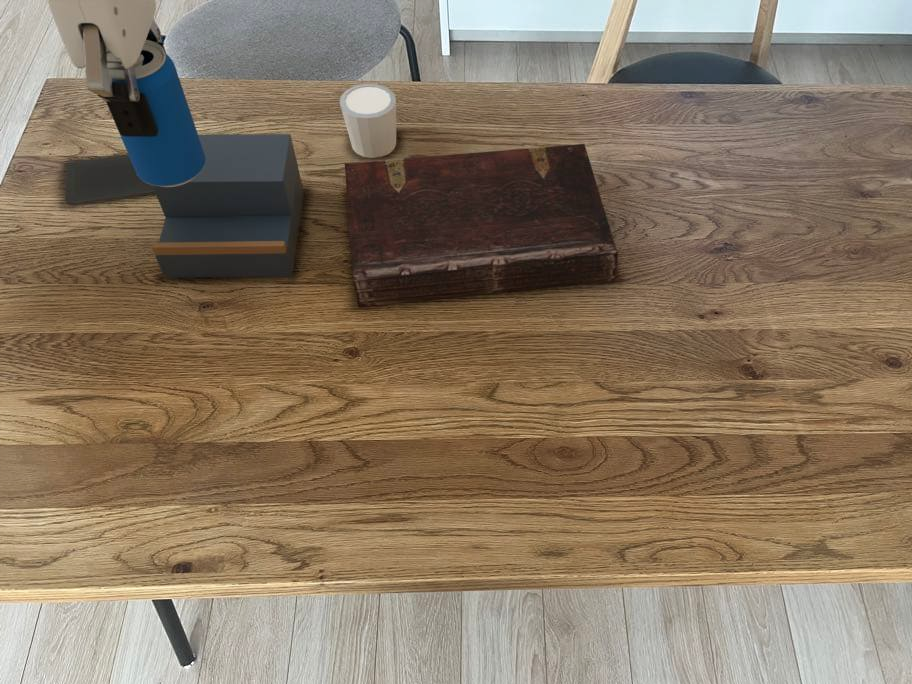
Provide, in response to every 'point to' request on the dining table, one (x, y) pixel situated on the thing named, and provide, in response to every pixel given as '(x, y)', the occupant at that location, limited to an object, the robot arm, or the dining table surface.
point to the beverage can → (163, 123)
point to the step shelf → (234, 211)
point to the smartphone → (103, 180)
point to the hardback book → (476, 224)
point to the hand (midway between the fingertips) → (148, 107)
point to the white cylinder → (370, 119)
